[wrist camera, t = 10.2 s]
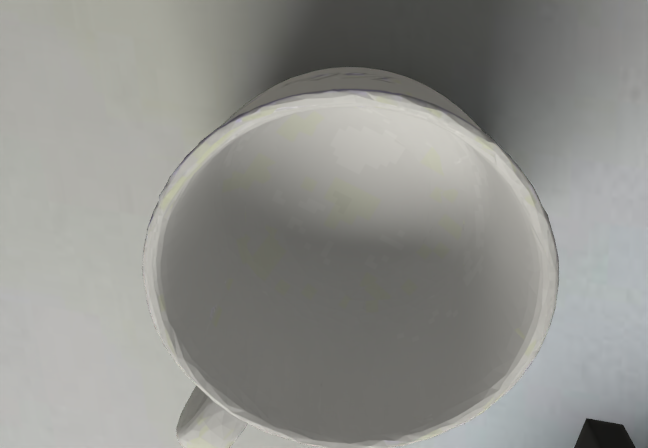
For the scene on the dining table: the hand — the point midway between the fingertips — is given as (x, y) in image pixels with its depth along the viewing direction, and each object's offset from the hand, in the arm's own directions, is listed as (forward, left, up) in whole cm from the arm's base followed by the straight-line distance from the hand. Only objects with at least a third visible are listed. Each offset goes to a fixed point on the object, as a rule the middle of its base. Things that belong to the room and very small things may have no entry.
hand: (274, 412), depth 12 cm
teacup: (0, 0, -11) cm, 11 cm away
